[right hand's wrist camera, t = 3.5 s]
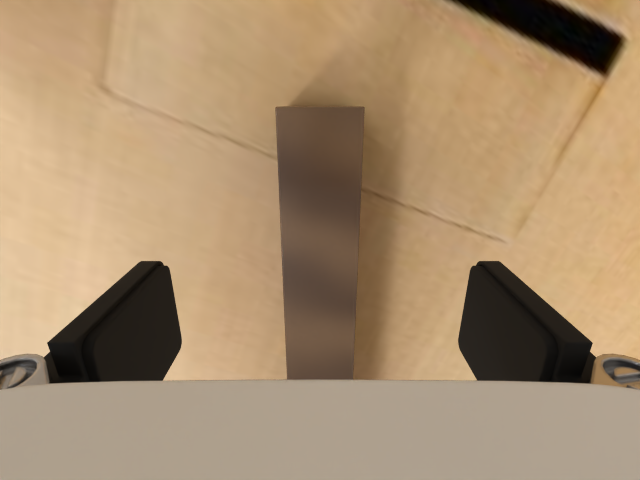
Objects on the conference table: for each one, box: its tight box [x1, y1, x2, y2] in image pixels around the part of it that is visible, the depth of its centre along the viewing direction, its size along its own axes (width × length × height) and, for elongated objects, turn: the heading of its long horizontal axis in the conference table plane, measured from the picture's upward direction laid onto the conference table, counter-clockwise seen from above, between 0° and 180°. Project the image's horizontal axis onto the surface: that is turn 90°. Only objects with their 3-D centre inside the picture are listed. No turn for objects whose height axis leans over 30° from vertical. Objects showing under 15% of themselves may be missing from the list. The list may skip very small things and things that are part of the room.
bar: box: [276, 106, 364, 380], centre depth 32 cm, size 61×4×7 cm, turn 0°
